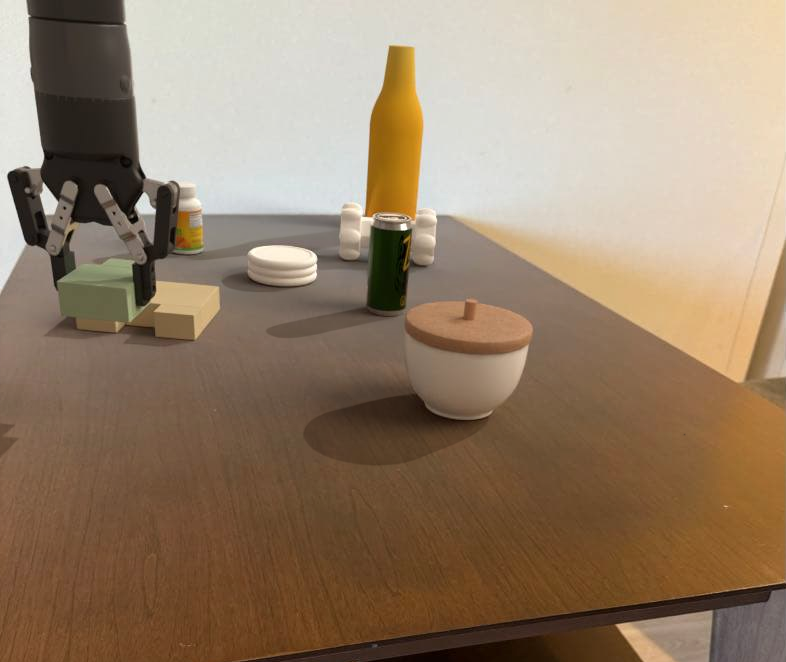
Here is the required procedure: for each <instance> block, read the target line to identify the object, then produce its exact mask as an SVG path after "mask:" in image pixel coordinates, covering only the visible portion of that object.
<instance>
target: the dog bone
mask: <svg viewBox="0 0 786 662" xmlns="http://www.w3.org/2000/svg"><path fill="white" fill-rule="evenodd" d="M363 212H364V210H363V207H362V206H361V205H360V204H358V203H357V202H346V203H344V204H343V205H342V206H341V211H340V214H339V217H340V228H339V230H340V231H339V234H338V239H339V249H338V255H339V257H340V258H341V259H343V260H346V261H355V260H358V258H360V257H361V249H369V242H370V224H371V222H372V220H373V218H369V217H365V216H363ZM411 224H412V227H413V228H412V240H411V252H410V253H411V254H412V261H413V262H414V264H416V265H418V266H421V267H423V266H424V267H425V266H429V265H431V264H432V263H433V262H434V260H435V257H434V255H435V254H434V252H435V247H436V244H437V241H436V233H437V232H436V231H437V224H438V219H437V213H436V211H435V210H434V209H431V208H428V207H422V208H420V209H418V210H416V214H415V221H411Z"/></svg>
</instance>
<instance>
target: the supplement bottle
mask: <svg viewBox="0 0 786 662" xmlns="http://www.w3.org/2000/svg"><path fill="white" fill-rule="evenodd" d="M176 182H177V183H178V184H179V186H180V197H179V209H178V221H177V234H176V246H175V249H174V251H173V252H172V253H174V254H177V255H190V256H191V255H197V254H200V253H202V252H203V251H204V230H203V229H204V228H203V210H202V209H203V208H202V203H201V201H200V200H199V199H197V198H196V197H195V196H196V195H197V186H196V185H197V184H195V183H193V182H188V181H176Z"/></svg>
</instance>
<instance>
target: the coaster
mask: <svg viewBox="0 0 786 662" xmlns="http://www.w3.org/2000/svg"><path fill="white" fill-rule="evenodd" d="M246 258H247V263H246V264H247V268H248V269H247V276H248V277H249V278H250V279H251V280H252V281H254V282H256V283H259V284H263V285H266V286H271V287H272V286H274V287H298V286H306V285H309V284H312V283H313V282H314V281H315V280H316V279H317V277H318V273H317V270H318V265H317V262H318V257H317V255H316V253H315V252H313V251H311V250H310V249H307V248H304V247H298V246H292V245H282V244H281V245H279V244H277V245H275V244H274V245H263V246H257V247H254V248H252V249H251V250H249V251H248V252H247V255H246Z"/></svg>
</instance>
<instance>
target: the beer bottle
mask: <svg viewBox="0 0 786 662" xmlns="http://www.w3.org/2000/svg"><path fill="white" fill-rule="evenodd" d="M415 49H416V47H414V46H409V45H408V46H407V45H395V44H389V45H388V51H387V58H386V65H385V69H384V70H385V71H384V77H383V83H382V87H381V90H380V92H379V94H378V96H377V98H376V100H375V103H374V105H373V107H372V111H371V114H370V118H369V119H370V120H369V132H368V133H369V134H368V139H369V140H368V153H367V154H368V155H367V170H366V171H367V173H366V192H365V193H366V194H365V207H364V217H369V218H373V215H374V214H377V213H397V214H403V215H407V216H409V217H411V221H415V214H416V212H417V211H418V210H417V209H418V198H419V197H418V196H419V195H418V193H419V184H420V172H421V160H422V146H423V135H424V114H423V111H422V107H421V102H420V100H419V97H418V93H417V89H416V88H417V86H416V50H415Z"/></svg>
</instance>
